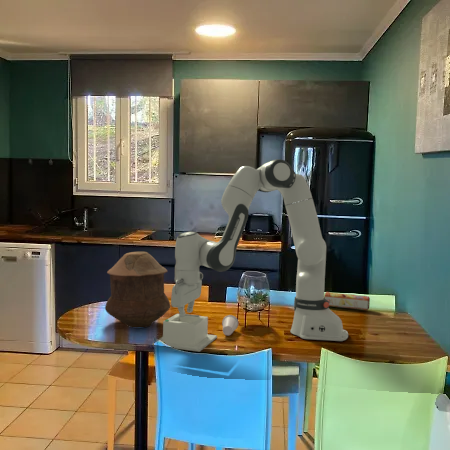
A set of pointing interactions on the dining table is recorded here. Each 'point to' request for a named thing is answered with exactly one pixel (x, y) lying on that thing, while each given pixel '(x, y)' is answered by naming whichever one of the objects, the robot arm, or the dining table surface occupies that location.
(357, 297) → the snack package
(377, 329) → the dining table surface
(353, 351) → the dining table surface
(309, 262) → the robot arm
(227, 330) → the smoothie
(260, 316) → the dining table surface
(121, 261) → the pottery vessel
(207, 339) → the socket dock
